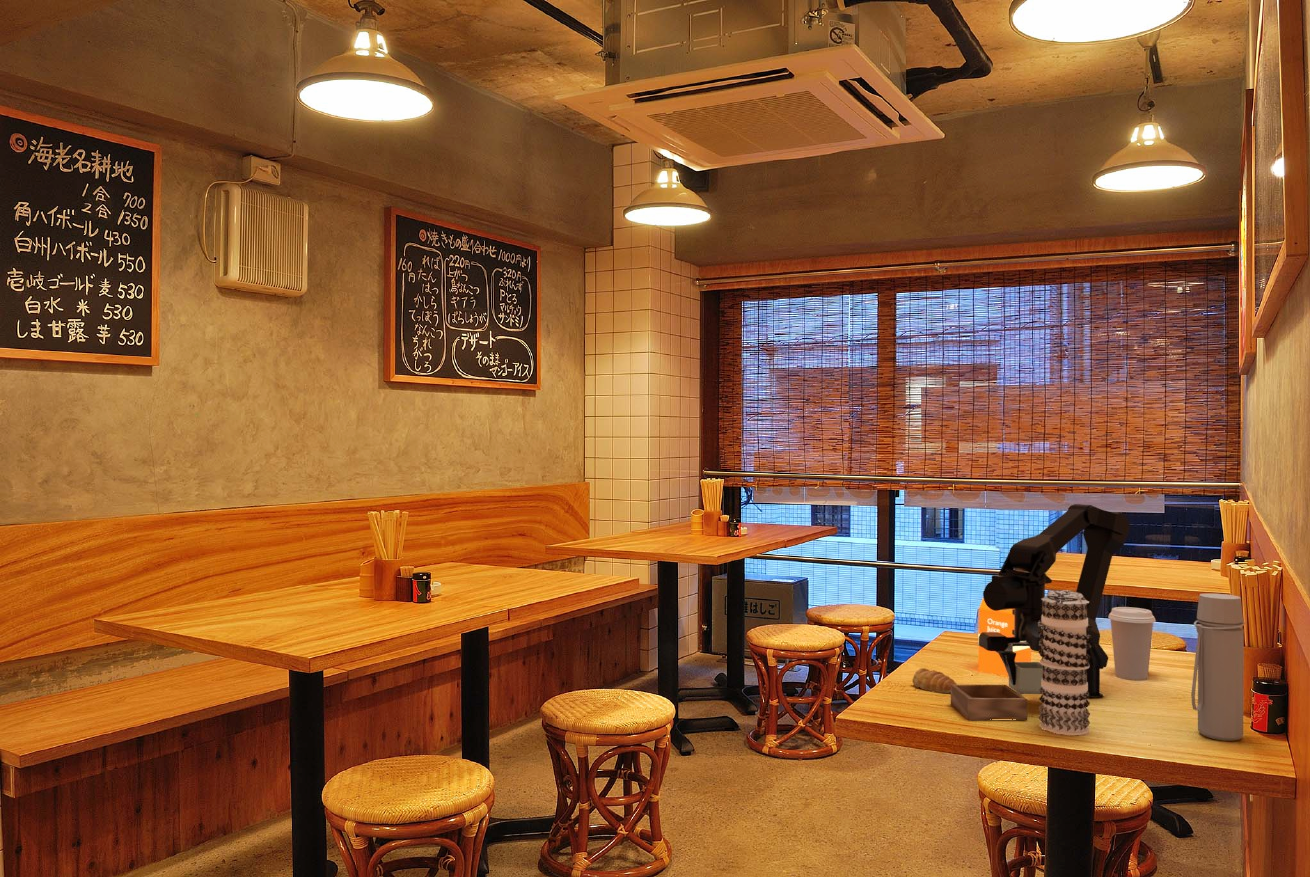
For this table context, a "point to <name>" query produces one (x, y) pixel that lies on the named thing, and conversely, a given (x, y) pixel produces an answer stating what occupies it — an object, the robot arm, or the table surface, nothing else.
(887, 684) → the table surface
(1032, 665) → the small crate
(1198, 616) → the water bottle
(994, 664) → the orange juice
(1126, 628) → the coffee cup
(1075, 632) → the decorative candle
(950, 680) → the pastry
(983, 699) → the big crate
